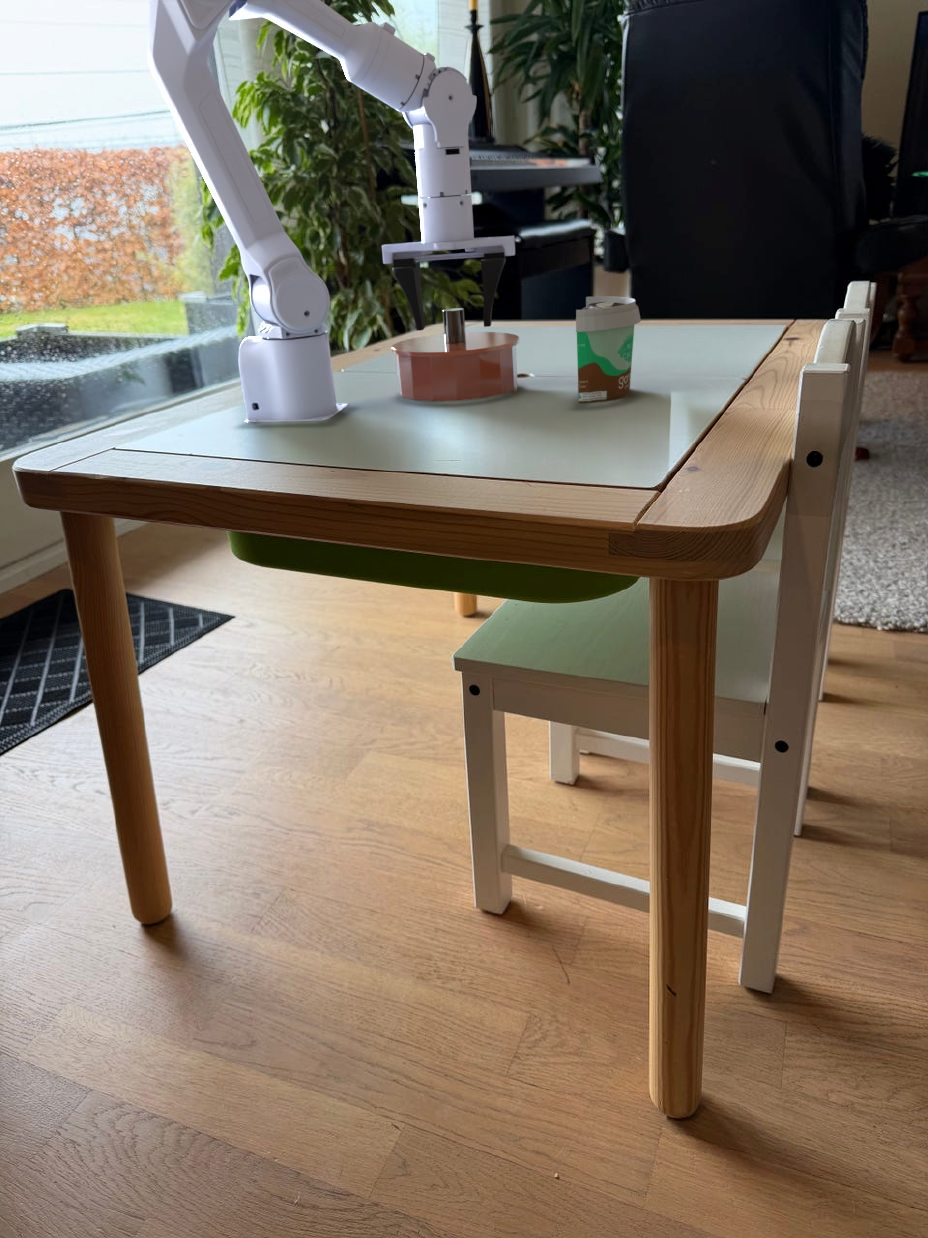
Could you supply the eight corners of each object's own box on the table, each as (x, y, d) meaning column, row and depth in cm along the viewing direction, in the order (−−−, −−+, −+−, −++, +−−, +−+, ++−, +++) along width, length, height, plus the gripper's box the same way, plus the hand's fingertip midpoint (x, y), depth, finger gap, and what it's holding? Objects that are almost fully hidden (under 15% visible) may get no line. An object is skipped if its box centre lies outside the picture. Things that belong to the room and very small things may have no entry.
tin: (386, 407, 106) (382, 358, 104) (416, 383, 118) (412, 339, 116) (506, 404, 103) (504, 353, 101) (524, 380, 115) (522, 334, 113)
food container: (637, 410, 96) (638, 307, 92) (577, 411, 98) (575, 310, 94) (642, 385, 107) (643, 293, 103) (587, 387, 109) (586, 296, 105)
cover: (382, 365, 103) (378, 321, 101) (403, 344, 116) (399, 305, 114) (516, 358, 101) (514, 313, 99) (522, 338, 115) (520, 298, 113)
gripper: (372, 202, 99) (385, 335, 105) (510, 192, 98) (516, 328, 103) (383, 200, 106) (395, 327, 111) (513, 191, 104) (518, 320, 110)
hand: (454, 327), depth 108 cm, fingers open, 7 cm apart
